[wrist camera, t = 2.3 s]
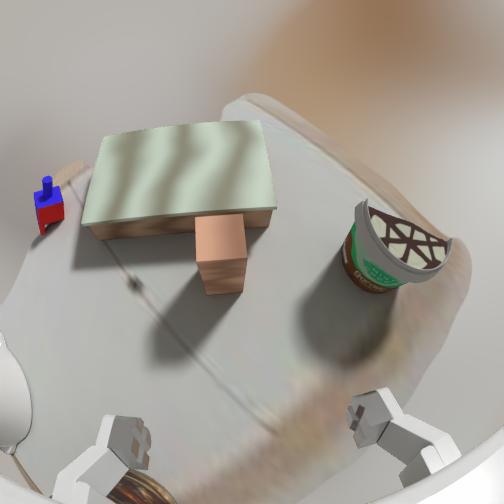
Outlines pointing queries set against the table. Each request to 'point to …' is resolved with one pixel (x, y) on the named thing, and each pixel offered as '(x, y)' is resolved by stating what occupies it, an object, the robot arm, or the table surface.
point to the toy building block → (48, 204)
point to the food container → (390, 251)
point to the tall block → (221, 253)
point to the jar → (139, 490)
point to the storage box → (179, 179)
